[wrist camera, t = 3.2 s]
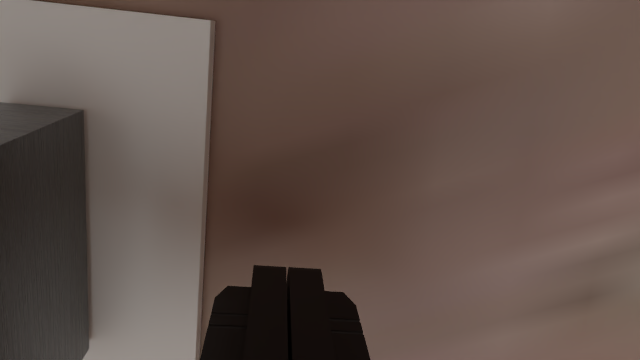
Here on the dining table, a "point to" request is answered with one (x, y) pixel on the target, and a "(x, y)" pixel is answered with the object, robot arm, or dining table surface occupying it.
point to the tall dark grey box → (43, 234)
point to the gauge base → (128, 159)
